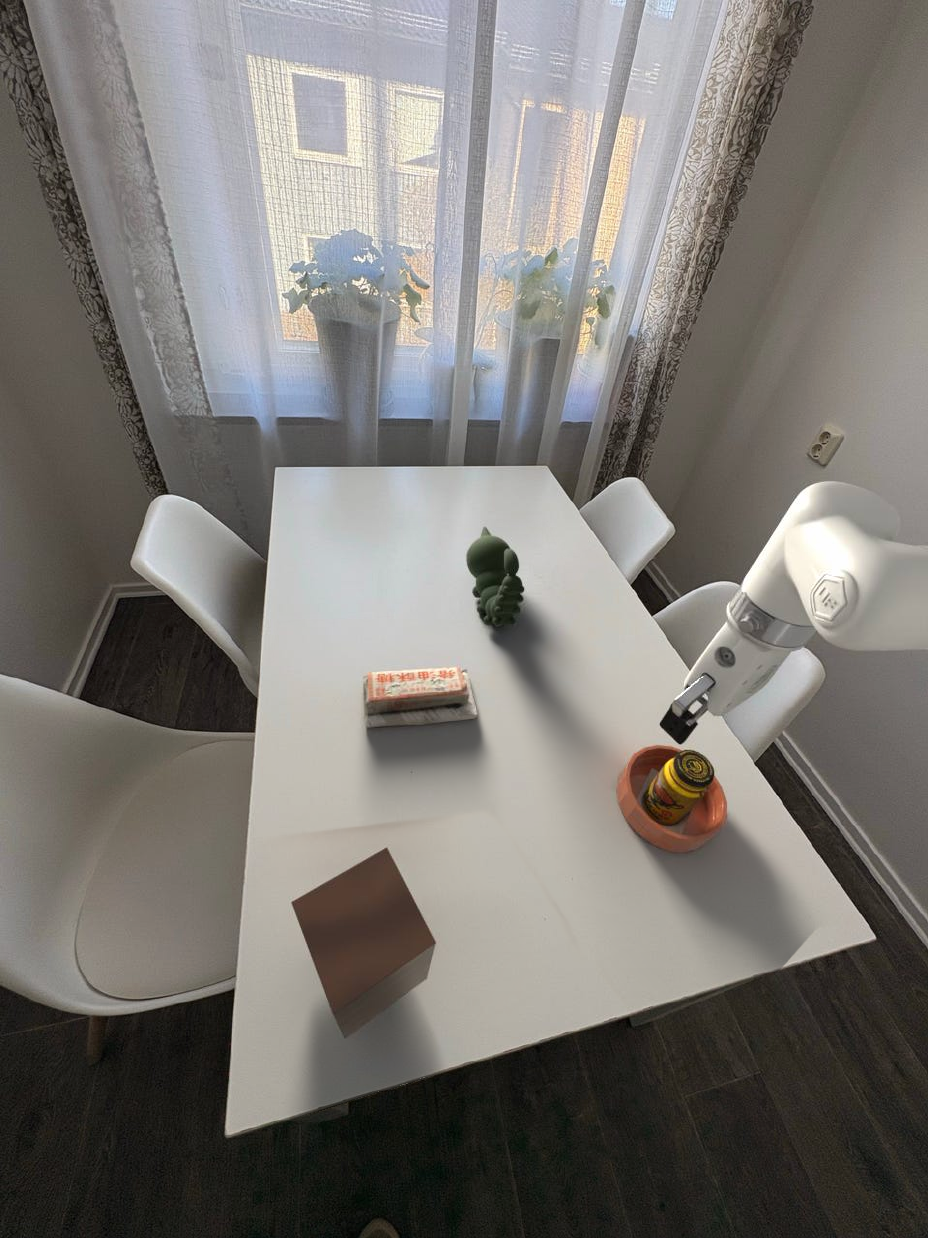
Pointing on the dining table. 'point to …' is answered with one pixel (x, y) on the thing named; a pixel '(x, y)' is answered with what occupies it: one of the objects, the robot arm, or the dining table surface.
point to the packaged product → (417, 697)
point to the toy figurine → (495, 579)
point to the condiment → (676, 789)
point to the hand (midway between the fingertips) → (697, 716)
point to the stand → (365, 939)
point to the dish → (696, 833)
